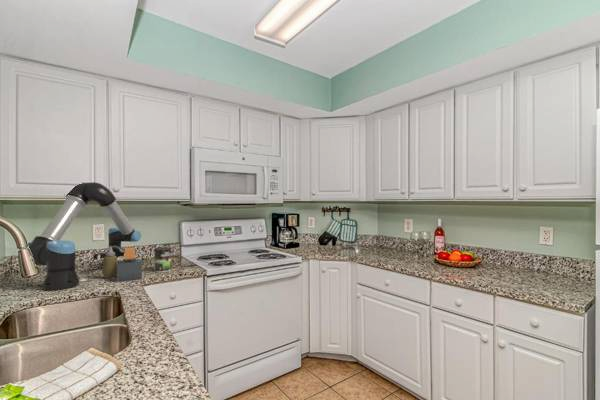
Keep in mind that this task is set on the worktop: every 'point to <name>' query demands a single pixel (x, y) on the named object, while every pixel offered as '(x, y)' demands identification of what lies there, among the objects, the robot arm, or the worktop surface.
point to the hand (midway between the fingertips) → (111, 257)
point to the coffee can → (162, 259)
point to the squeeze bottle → (110, 264)
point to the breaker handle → (129, 254)
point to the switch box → (129, 270)
